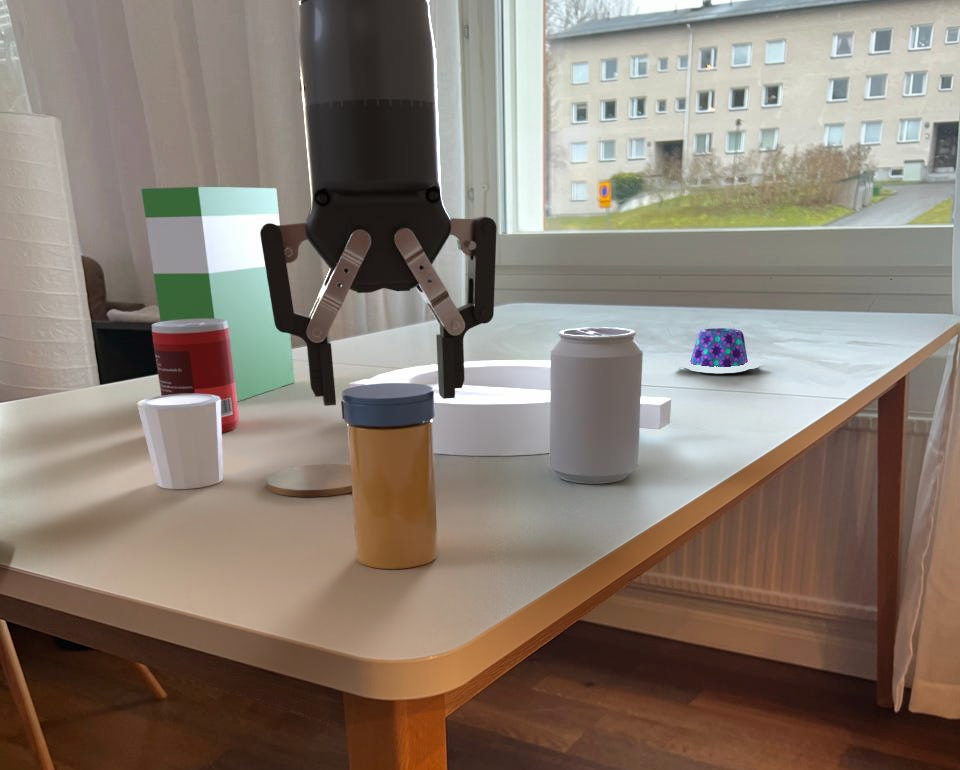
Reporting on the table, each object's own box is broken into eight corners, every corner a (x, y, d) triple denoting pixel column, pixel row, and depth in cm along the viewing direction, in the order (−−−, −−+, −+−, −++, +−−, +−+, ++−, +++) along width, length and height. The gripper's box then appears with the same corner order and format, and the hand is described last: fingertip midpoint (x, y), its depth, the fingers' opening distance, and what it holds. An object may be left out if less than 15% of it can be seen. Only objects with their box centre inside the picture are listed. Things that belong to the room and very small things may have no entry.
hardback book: (246, 380, 137) (225, 189, 127) (294, 382, 135) (276, 188, 125) (172, 403, 122) (141, 188, 112) (225, 405, 119) (198, 186, 110)
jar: (360, 572, 63) (348, 408, 59) (353, 546, 68) (341, 393, 64) (443, 565, 64) (437, 403, 60) (431, 540, 69) (424, 389, 65)
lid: (346, 429, 60) (344, 400, 59) (339, 412, 65) (337, 385, 64) (441, 423, 61) (440, 395, 60) (427, 407, 66) (426, 380, 65)
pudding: (729, 379, 129) (732, 337, 127) (655, 370, 137) (657, 331, 135) (780, 368, 136) (784, 329, 134) (707, 361, 145) (710, 323, 142)
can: (617, 490, 80) (623, 336, 75) (534, 480, 84) (534, 332, 79) (650, 469, 86) (657, 326, 81) (571, 461, 90) (573, 323, 85)
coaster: (266, 500, 80) (265, 493, 79) (266, 474, 88) (265, 467, 88) (378, 492, 81) (377, 485, 81) (367, 467, 89) (367, 460, 89)
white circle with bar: (345, 412, 114) (342, 369, 112) (572, 394, 121) (572, 354, 119) (402, 467, 89) (400, 413, 87) (682, 440, 97) (685, 390, 95)
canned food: (245, 420, 111) (233, 317, 106) (233, 435, 103) (220, 325, 99) (175, 422, 110) (160, 319, 106) (159, 437, 103) (142, 327, 99)
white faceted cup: (182, 495, 82) (170, 409, 79) (132, 483, 86) (119, 401, 83) (246, 477, 87) (237, 396, 84) (197, 467, 91) (186, 389, 88)
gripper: (237, 93, 51) (273, 418, 58) (510, 91, 53) (514, 403, 60) (240, 108, 58) (272, 397, 64) (482, 105, 60) (489, 384, 67)
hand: (389, 399), depth 62 cm, fingers open, 7 cm apart
